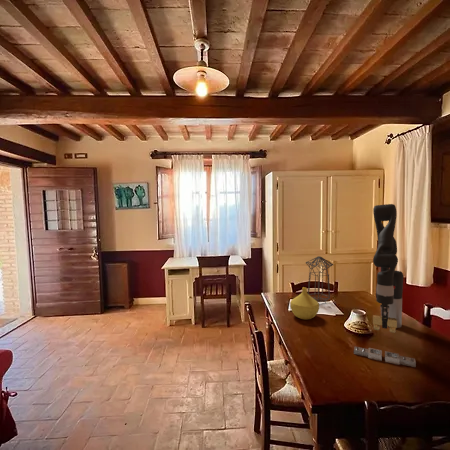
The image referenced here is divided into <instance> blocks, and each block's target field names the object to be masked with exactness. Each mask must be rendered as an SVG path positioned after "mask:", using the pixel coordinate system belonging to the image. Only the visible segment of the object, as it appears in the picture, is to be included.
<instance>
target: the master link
mask: <svg viewBox="0 0 450 450" xmlns="http://www.w3.org/2000/svg"><path fill="white" fill-rule="evenodd" d="M384 319H386V318H384ZM372 324H373V330H375V331H380V328H381V327H380V326H382V316H381V315H376V314H375V315H374V314H373V315H372ZM387 327H389V332H390V333H392V334H395V333H396V332H397V331H396V330H397V329H398V328H397V318H390V317H388V322H387Z"/></svg>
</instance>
